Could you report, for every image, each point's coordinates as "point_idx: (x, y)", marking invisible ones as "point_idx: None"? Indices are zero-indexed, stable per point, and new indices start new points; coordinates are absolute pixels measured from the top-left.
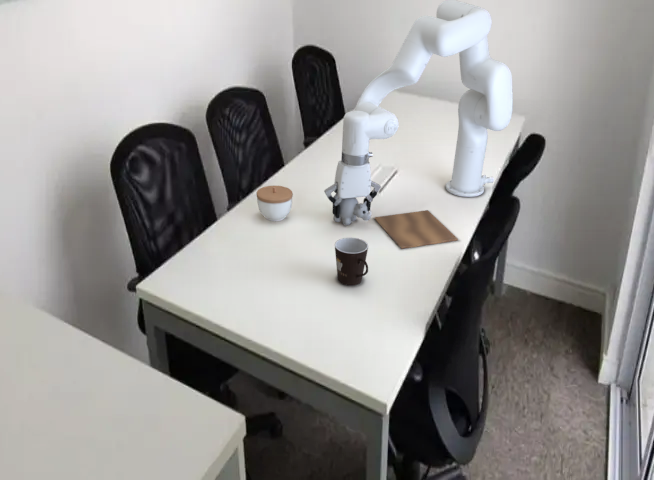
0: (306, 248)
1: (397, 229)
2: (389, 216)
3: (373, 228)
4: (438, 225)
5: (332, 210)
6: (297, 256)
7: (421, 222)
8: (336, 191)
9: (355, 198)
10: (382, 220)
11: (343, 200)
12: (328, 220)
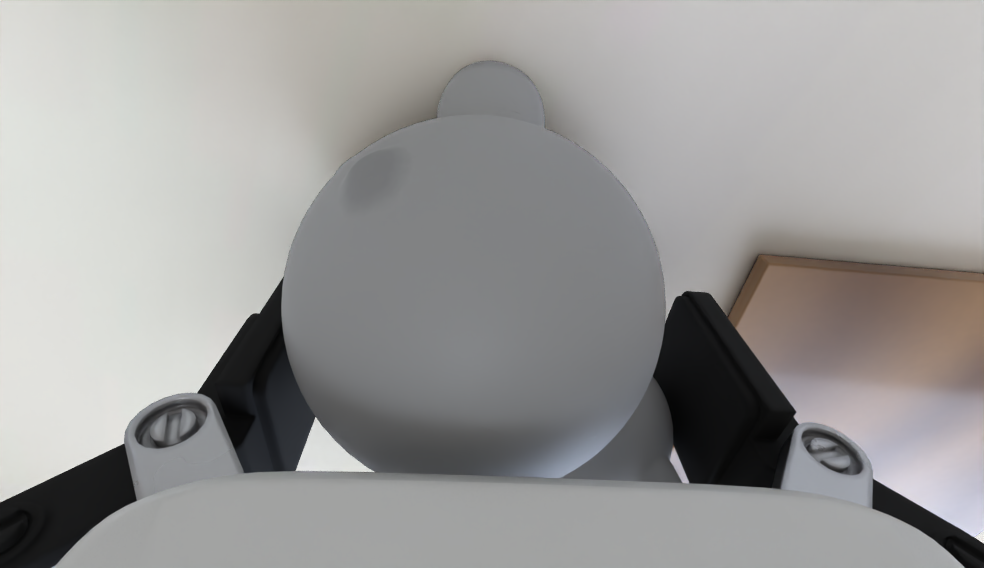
0: (66, 441)
1: None
2: (895, 295)
3: None
4: None
5: (241, 328)
6: (14, 485)
7: (975, 438)
8: (159, 529)
9: (604, 446)
10: (775, 334)
11: (365, 464)
12: (302, 104)
